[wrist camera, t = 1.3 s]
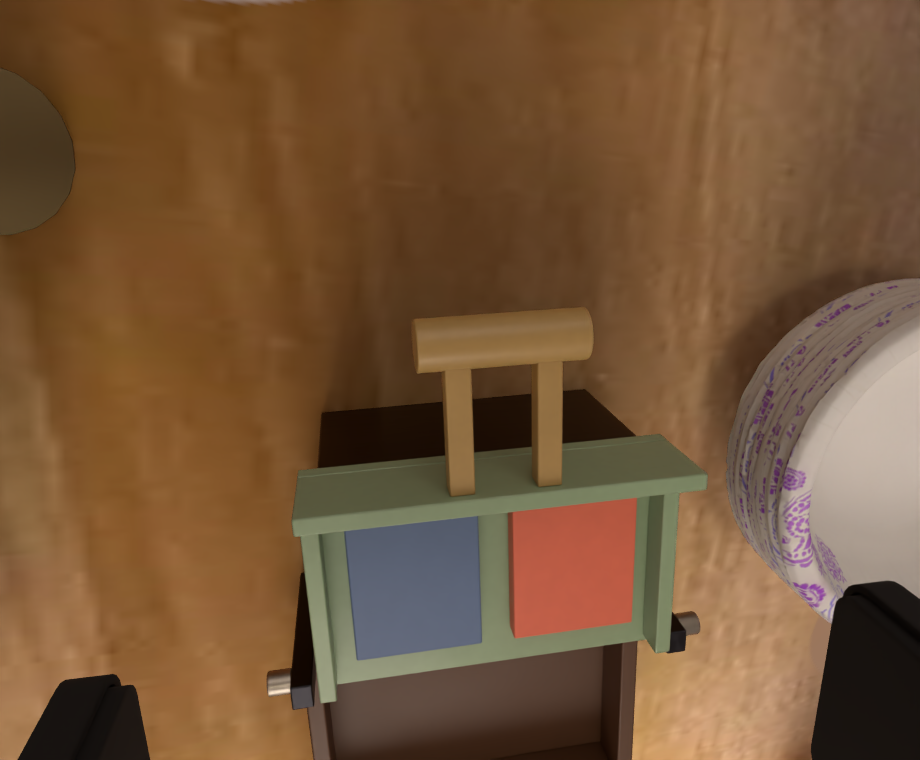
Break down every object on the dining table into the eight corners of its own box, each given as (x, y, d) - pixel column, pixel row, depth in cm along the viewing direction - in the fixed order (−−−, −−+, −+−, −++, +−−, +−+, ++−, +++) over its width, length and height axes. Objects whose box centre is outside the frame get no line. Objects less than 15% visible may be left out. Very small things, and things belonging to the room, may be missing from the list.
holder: (616, 558, 35) (640, 593, 32) (609, 741, 38) (631, 787, 36) (301, 598, 33) (297, 639, 30) (324, 789, 36) (323, 842, 33)
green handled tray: (668, 283, 24) (723, 302, 21) (649, 628, 28) (693, 693, 25) (279, 309, 22) (268, 336, 19) (322, 676, 26) (319, 753, 23)
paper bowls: (629, 462, 33) (713, 547, 26) (839, 200, 31) (996, 211, 24) (828, 599, 38) (948, 705, 31) (1023, 379, 36) (1203, 435, 28)
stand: (638, 383, 32) (723, 446, 25) (631, 549, 35) (707, 648, 28) (260, 417, 30) (234, 497, 23) (283, 593, 32) (267, 714, 25)
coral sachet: (629, 482, 25) (638, 491, 25) (624, 610, 27) (632, 622, 26) (507, 495, 25) (512, 506, 24) (509, 625, 26) (514, 639, 26)
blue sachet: (474, 499, 25) (478, 509, 24) (478, 630, 26) (482, 644, 25) (343, 514, 24) (343, 525, 23) (356, 647, 26) (356, 662, 25)
